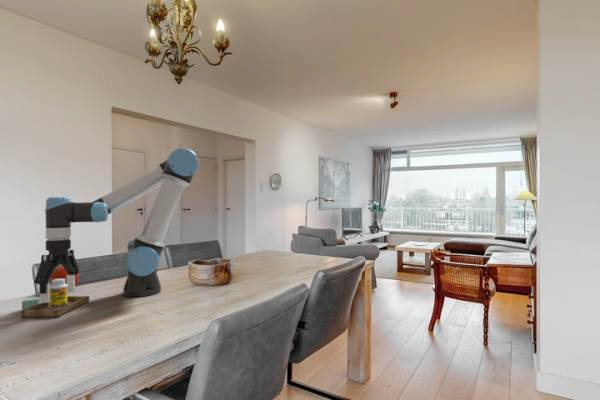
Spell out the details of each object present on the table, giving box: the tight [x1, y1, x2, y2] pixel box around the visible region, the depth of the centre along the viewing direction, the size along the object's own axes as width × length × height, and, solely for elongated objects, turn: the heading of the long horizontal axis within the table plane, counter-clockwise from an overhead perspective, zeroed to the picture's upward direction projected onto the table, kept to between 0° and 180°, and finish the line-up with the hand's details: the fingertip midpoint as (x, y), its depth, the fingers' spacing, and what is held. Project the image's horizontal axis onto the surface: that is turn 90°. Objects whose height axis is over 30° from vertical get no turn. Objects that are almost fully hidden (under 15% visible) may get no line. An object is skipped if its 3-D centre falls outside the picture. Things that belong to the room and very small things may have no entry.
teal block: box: [21, 297, 40, 311], centre depth 123 cm, size 4×4×4 cm
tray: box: [20, 295, 90, 319], centre depth 123 cm, size 12×18×2 cm, turn 2°
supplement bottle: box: [49, 279, 69, 309], centre depth 123 cm, size 6×6×10 cm
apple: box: [50, 266, 80, 288], centre depth 151 cm, size 10×10×12 cm
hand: (58, 297), depth 124 cm, fingers open, 13 cm apart
